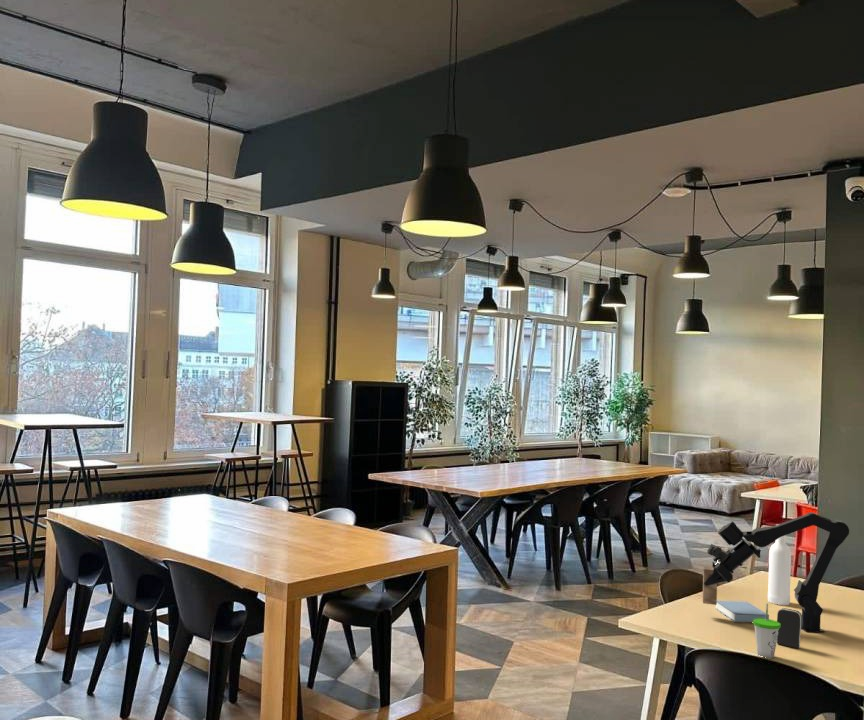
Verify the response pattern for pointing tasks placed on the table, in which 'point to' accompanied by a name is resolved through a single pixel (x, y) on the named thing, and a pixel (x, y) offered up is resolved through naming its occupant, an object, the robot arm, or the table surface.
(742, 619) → the book
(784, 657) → the table surface
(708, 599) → the brown wooden block
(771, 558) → the bottle
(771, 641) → the cup
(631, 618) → the table surface
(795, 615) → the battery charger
